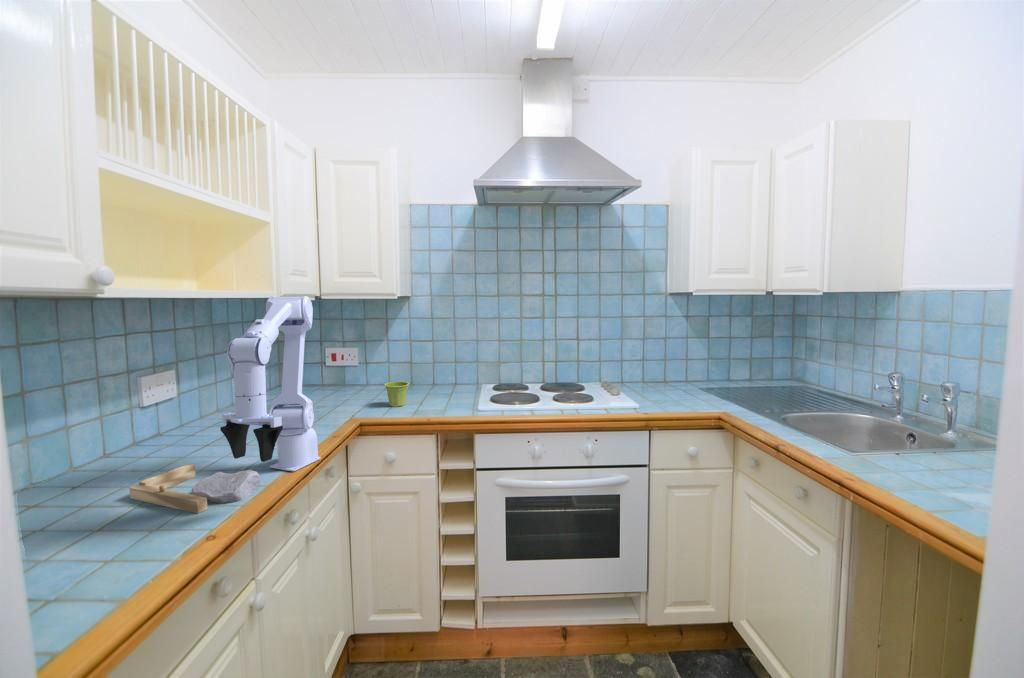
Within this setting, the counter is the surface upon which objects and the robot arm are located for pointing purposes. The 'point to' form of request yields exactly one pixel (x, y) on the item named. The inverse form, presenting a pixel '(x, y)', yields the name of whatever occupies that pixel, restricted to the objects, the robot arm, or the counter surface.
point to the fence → (169, 491)
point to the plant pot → (397, 393)
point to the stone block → (227, 486)
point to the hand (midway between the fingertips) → (252, 458)
